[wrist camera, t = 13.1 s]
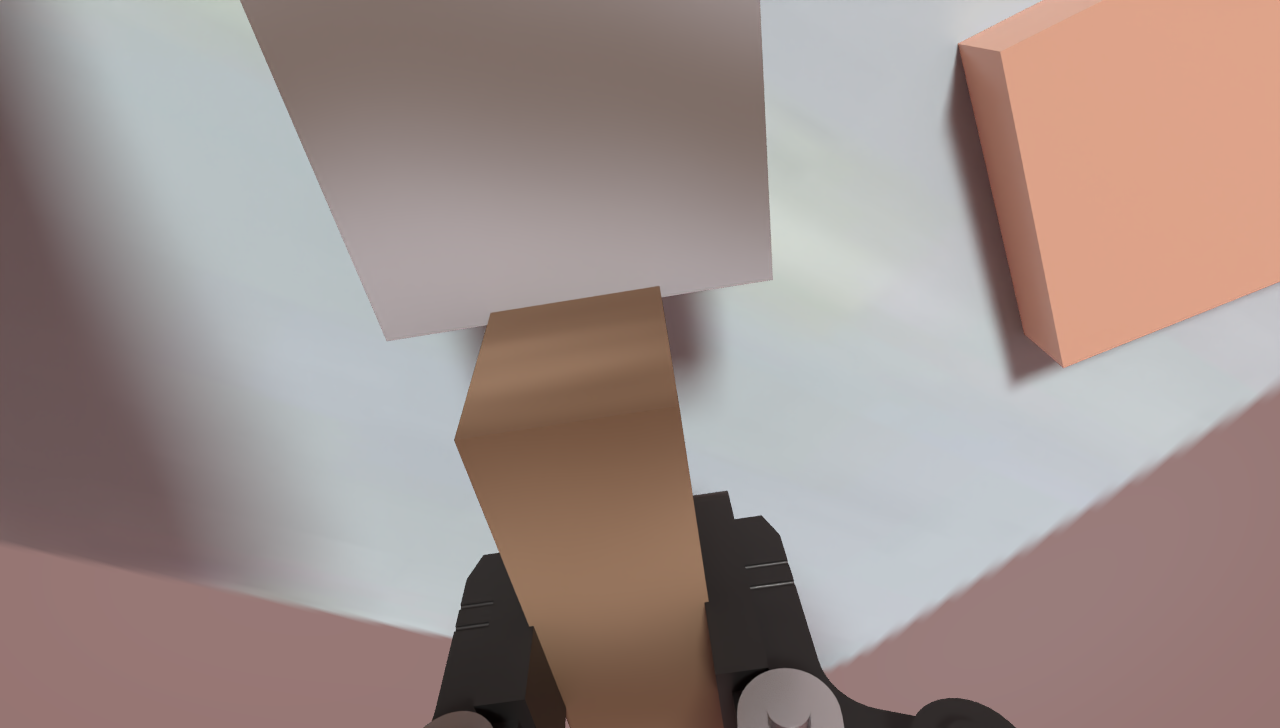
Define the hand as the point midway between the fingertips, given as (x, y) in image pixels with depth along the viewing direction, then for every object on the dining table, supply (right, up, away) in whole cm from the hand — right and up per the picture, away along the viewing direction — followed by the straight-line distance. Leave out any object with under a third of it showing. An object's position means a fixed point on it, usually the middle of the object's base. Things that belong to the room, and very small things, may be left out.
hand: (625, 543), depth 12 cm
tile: (+9, +7, +3) cm, 12 cm away
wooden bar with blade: (0, +2, 0) cm, 2 cm away
